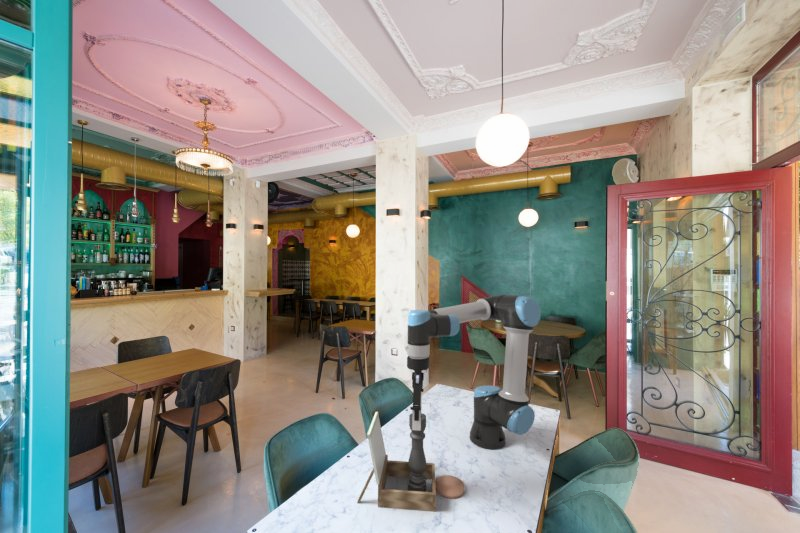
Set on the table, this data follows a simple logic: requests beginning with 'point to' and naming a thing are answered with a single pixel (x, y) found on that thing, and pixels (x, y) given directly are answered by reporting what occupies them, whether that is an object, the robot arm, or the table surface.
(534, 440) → the table surface
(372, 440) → the frame lid
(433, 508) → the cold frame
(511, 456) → the table surface
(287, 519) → the table surface
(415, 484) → the candle holder
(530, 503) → the table surface
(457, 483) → the saucer
